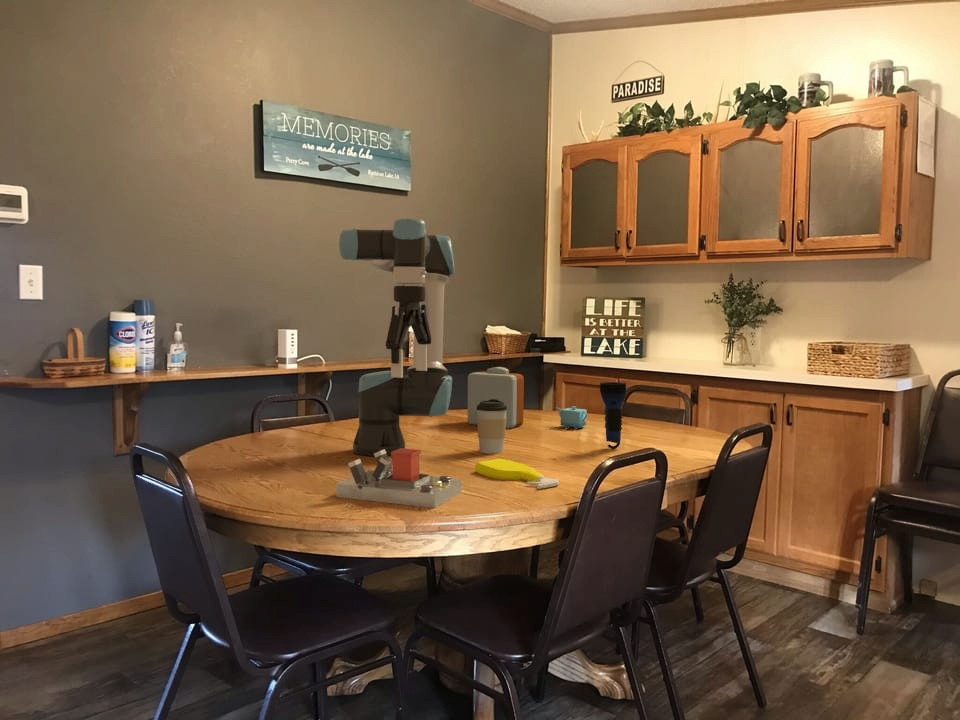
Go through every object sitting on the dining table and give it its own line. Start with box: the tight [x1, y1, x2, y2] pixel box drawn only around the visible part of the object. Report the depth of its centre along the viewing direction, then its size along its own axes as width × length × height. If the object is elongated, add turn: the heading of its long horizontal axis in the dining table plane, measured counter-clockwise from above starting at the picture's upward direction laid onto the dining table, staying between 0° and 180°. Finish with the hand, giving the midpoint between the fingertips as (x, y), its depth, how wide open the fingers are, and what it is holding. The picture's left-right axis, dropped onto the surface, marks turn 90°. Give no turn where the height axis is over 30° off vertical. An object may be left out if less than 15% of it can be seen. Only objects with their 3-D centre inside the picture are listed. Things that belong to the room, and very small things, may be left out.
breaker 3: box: [372, 455, 393, 480], centre depth 178 cm, size 2×2×5 cm
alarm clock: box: [467, 366, 525, 429], centre depth 276 cm, size 18×9×21 cm, turn 58°
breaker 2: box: [373, 449, 393, 472], centre depth 185 cm, size 2×2×5 cm
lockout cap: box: [390, 448, 422, 481], centre depth 176 cm, size 5×5×7 cm
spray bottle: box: [474, 458, 560, 490], centre depth 195 cm, size 3×11×24 cm
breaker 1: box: [347, 458, 368, 484], centre depth 174 cm, size 2×2×5 cm
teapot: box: [556, 406, 588, 430], centre depth 273 cm, size 12×6×8 cm, turn 60°
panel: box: [335, 469, 462, 509], centre depth 177 cm, size 24×15×4 cm, turn 69°
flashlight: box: [599, 381, 627, 450], centre depth 234 cm, size 8×8×20 cm
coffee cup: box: [477, 399, 507, 455], centre depth 228 cm, size 9×9×15 cm
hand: (409, 373), depth 187 cm, fingers open, 13 cm apart
